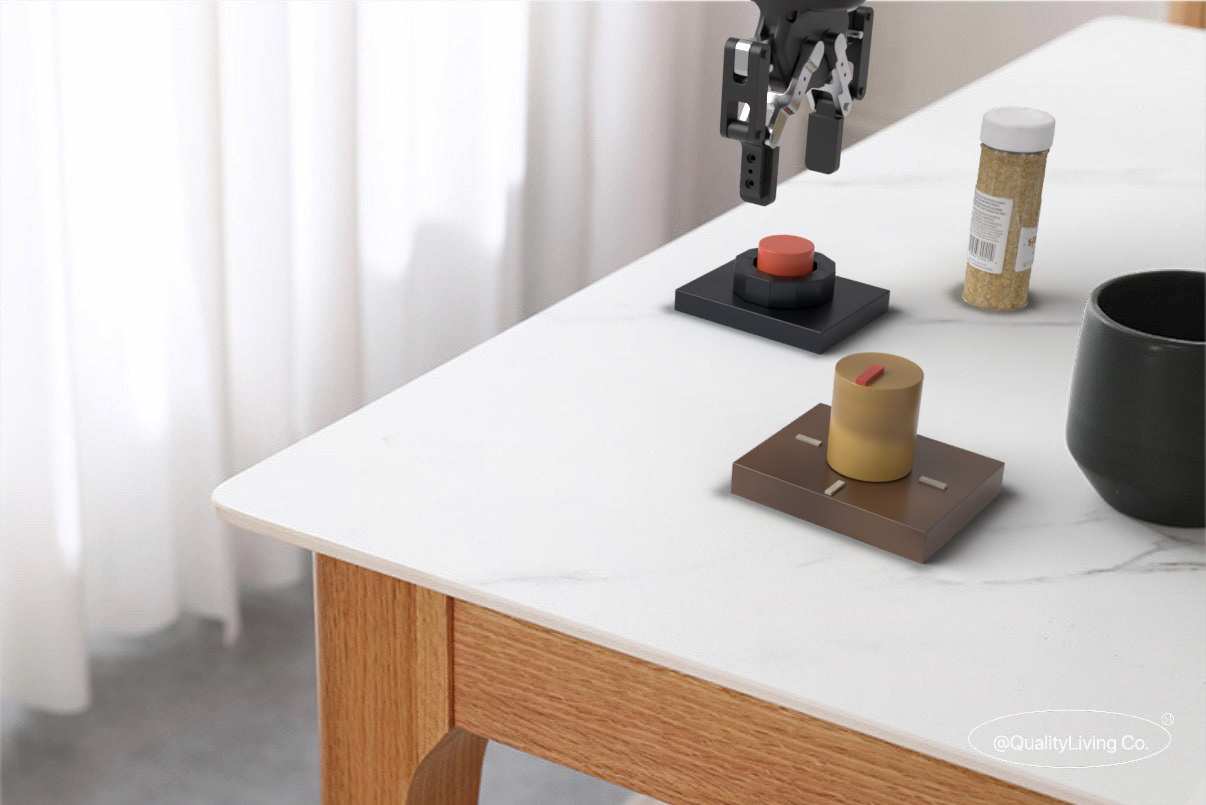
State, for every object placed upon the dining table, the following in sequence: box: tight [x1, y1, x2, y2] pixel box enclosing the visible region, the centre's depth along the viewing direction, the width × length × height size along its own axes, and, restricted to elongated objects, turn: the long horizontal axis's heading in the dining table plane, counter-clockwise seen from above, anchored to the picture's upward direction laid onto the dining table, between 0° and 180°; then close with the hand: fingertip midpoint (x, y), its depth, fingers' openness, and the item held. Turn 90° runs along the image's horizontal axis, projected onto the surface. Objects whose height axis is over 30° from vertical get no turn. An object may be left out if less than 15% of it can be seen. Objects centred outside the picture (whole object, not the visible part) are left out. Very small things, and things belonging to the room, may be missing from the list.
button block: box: [674, 247, 891, 355], centre depth 102 cm, size 11×9×4 cm
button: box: [757, 234, 816, 276], centre depth 101 cm, size 4×4×2 cm
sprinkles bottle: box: [961, 105, 1056, 312], centre depth 103 cm, size 5×5×13 cm
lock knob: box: [827, 351, 925, 482], centre depth 79 cm, size 4×4×6 cm
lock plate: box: [730, 402, 1006, 565], centre depth 81 cm, size 11×9×3 cm
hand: (790, 186), depth 99 cm, fingers open, 7 cm apart
